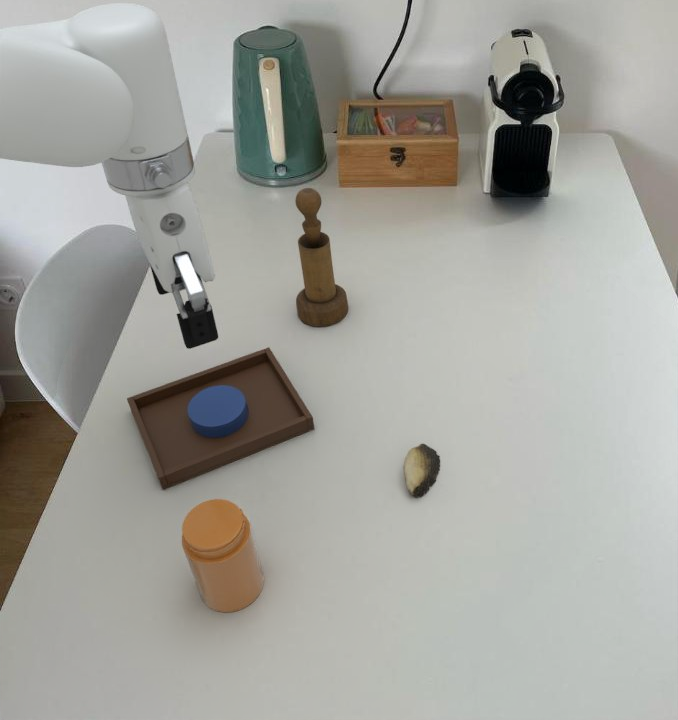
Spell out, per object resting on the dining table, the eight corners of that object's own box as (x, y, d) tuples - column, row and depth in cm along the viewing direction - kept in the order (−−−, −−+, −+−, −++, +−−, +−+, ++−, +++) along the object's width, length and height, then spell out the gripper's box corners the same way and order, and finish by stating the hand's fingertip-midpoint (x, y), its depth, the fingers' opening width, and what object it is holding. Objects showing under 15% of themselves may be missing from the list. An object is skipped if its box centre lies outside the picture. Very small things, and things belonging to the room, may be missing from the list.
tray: (162, 490, 85) (158, 478, 84) (131, 410, 94) (126, 398, 93) (314, 429, 91) (312, 416, 89) (271, 359, 100) (269, 346, 98)
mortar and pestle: (329, 289, 109) (314, 170, 97) (358, 311, 106) (346, 191, 94) (288, 310, 106) (267, 190, 94) (316, 334, 103) (299, 212, 90)
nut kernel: (414, 502, 82) (419, 479, 81) (381, 476, 85) (385, 454, 83) (455, 476, 87) (460, 455, 85) (422, 453, 89) (426, 431, 88)
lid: (247, 392, 95) (244, 380, 93) (250, 432, 90) (248, 420, 89) (190, 402, 94) (187, 390, 93) (191, 442, 89) (187, 431, 88)
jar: (211, 623, 74) (189, 563, 67) (192, 573, 78) (168, 512, 71) (273, 594, 76) (257, 534, 69) (251, 547, 79) (233, 485, 73)
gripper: (221, 193, 65) (252, 352, 77) (163, 112, 77) (197, 261, 88) (129, 218, 63) (175, 379, 74) (82, 130, 74) (128, 281, 86)
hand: (187, 315), depth 81 cm, fingers open, 9 cm apart
